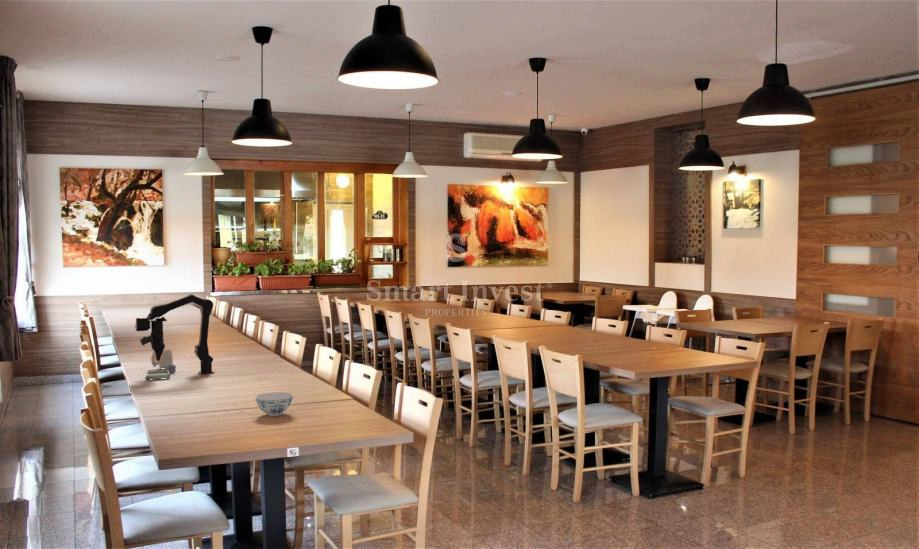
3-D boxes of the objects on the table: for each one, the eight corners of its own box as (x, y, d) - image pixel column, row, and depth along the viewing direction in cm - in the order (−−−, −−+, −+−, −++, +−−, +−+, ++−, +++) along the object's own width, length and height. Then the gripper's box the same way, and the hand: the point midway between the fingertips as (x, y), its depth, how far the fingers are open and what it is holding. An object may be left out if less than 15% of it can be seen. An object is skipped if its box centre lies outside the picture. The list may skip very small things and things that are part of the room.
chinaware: (296, 410, 328) (296, 391, 328) (289, 418, 313) (289, 399, 313) (260, 410, 328) (259, 392, 327) (251, 418, 313) (251, 399, 312)
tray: (169, 379, 403) (169, 374, 403) (147, 380, 399) (147, 375, 399) (168, 374, 416) (168, 370, 416) (147, 376, 412) (146, 371, 412)
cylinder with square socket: (177, 372, 421) (177, 365, 421) (167, 374, 418) (167, 366, 417) (173, 371, 425) (172, 364, 425) (163, 372, 421) (163, 365, 421)
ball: (163, 361, 407) (163, 353, 407) (155, 362, 404) (155, 354, 404) (160, 360, 410) (159, 353, 410) (152, 361, 407) (152, 354, 407)
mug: (175, 368, 435) (174, 347, 435) (152, 370, 429) (151, 348, 429) (172, 366, 442) (171, 345, 441) (150, 368, 436) (149, 347, 435)
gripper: (140, 329, 412) (141, 358, 413) (140, 333, 395) (141, 363, 395) (162, 327, 416) (163, 357, 417) (164, 331, 399) (165, 362, 400)
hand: (158, 360), depth 407 cm, fingers closed on ball, 4 cm apart
